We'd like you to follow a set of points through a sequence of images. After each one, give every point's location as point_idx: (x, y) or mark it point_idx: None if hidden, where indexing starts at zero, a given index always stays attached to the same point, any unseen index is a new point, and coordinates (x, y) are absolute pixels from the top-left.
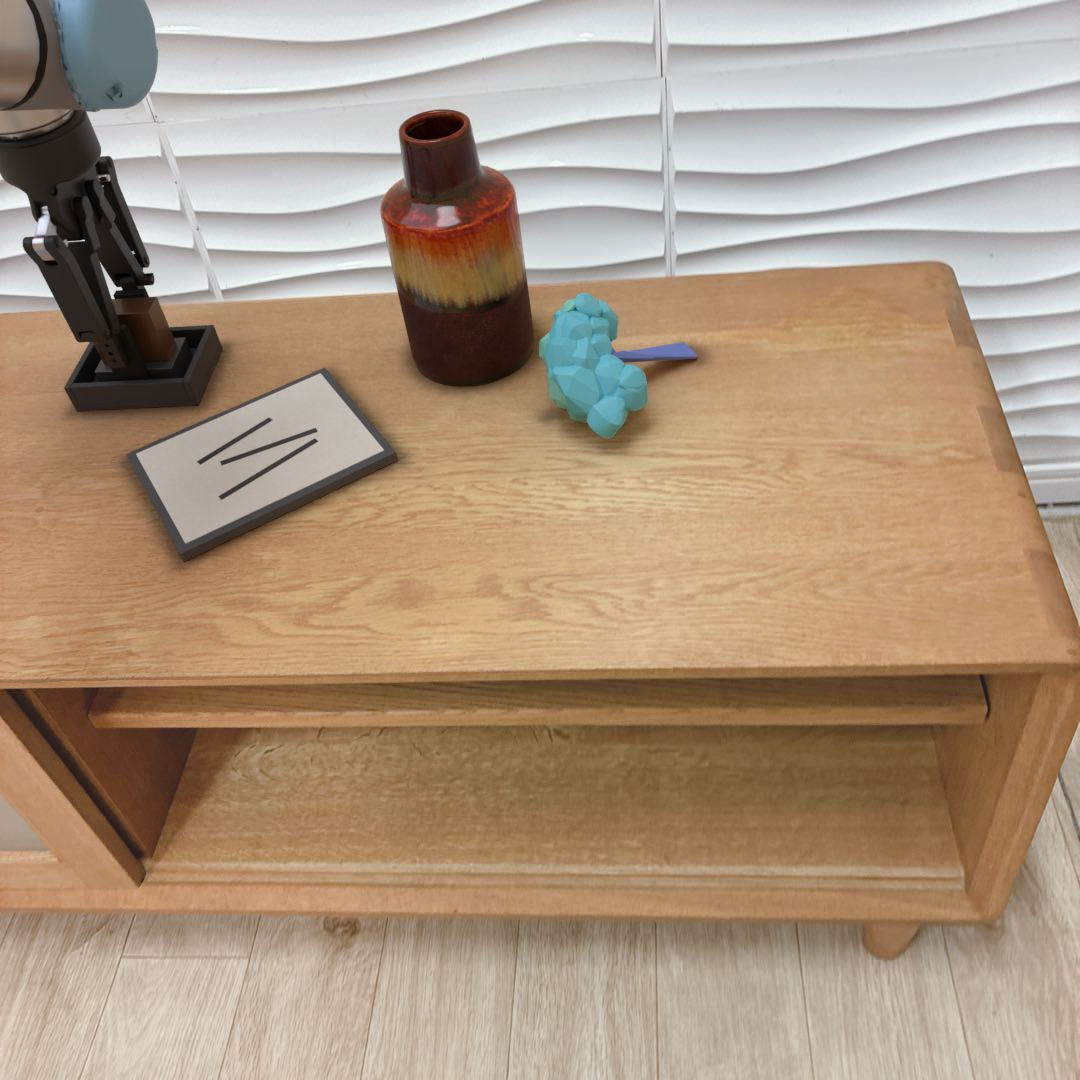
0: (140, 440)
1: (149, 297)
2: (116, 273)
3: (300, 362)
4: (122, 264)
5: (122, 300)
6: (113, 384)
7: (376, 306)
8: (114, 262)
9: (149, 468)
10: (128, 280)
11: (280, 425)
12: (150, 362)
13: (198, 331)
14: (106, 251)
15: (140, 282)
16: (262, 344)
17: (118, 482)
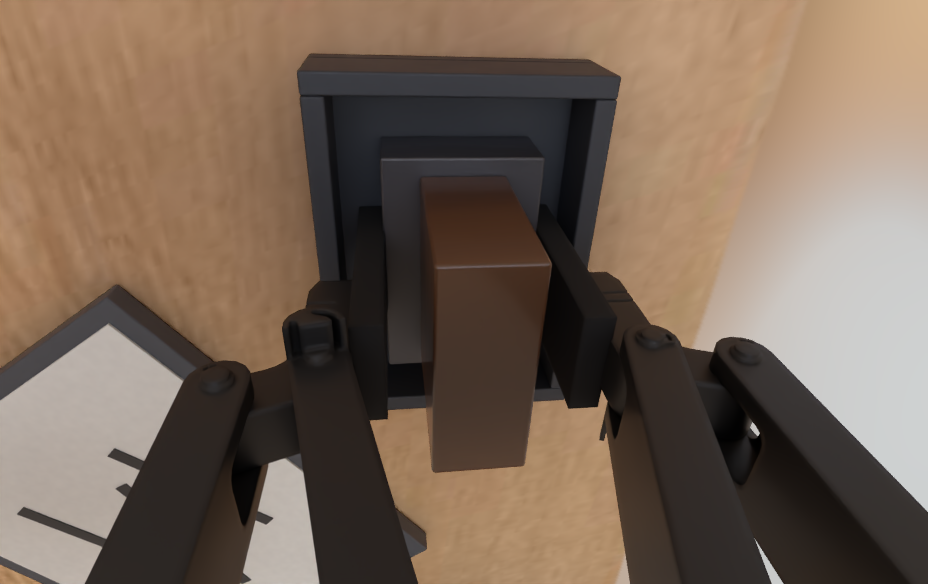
0: (203, 281)
1: (522, 450)
2: (624, 408)
3: (471, 490)
4: (623, 478)
5: (522, 380)
6: (318, 239)
7: (613, 547)
8: (630, 470)
9: (63, 370)
10: (619, 395)
11: (252, 537)
12: (418, 309)
13: (550, 368)
14: (642, 527)
15: (605, 421)
16: (543, 421)
17: (37, 279)
